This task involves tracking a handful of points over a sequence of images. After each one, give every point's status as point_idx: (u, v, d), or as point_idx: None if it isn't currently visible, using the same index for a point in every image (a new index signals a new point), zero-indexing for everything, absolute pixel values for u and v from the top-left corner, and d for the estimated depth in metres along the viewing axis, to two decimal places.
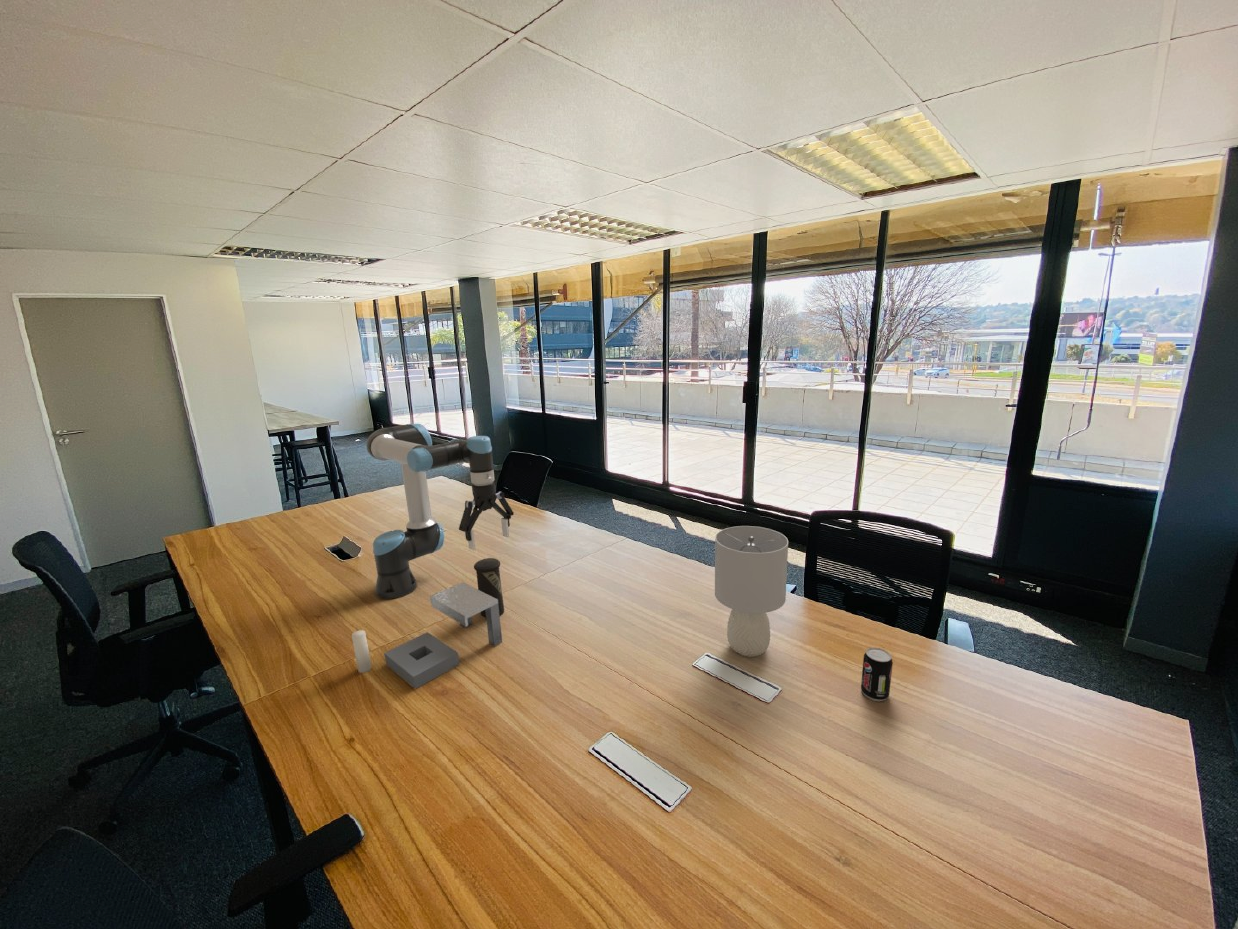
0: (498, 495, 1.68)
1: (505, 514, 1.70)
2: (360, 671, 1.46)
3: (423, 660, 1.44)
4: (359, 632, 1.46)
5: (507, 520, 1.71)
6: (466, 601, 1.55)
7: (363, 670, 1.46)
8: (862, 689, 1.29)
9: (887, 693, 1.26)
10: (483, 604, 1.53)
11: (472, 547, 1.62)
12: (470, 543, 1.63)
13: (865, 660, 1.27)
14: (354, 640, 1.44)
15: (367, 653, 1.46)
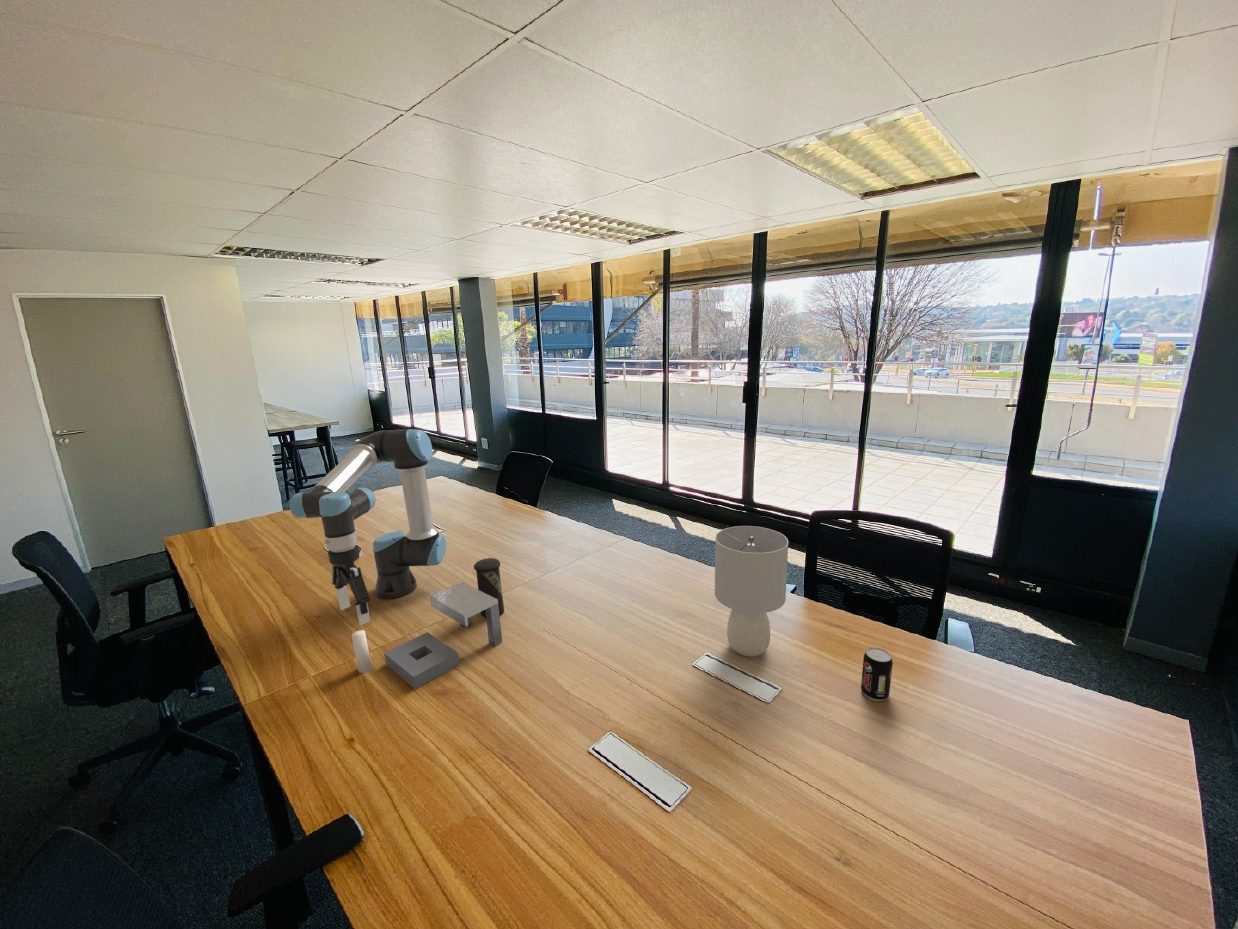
0: None
1: (355, 597, 1.36)
2: (360, 671, 1.46)
3: (423, 660, 1.44)
4: (359, 632, 1.46)
5: (356, 605, 1.37)
6: (466, 601, 1.55)
7: (363, 670, 1.46)
8: (862, 689, 1.29)
9: (887, 693, 1.26)
10: (483, 604, 1.53)
11: None
12: None
13: (865, 660, 1.27)
14: (354, 640, 1.44)
15: (367, 653, 1.46)
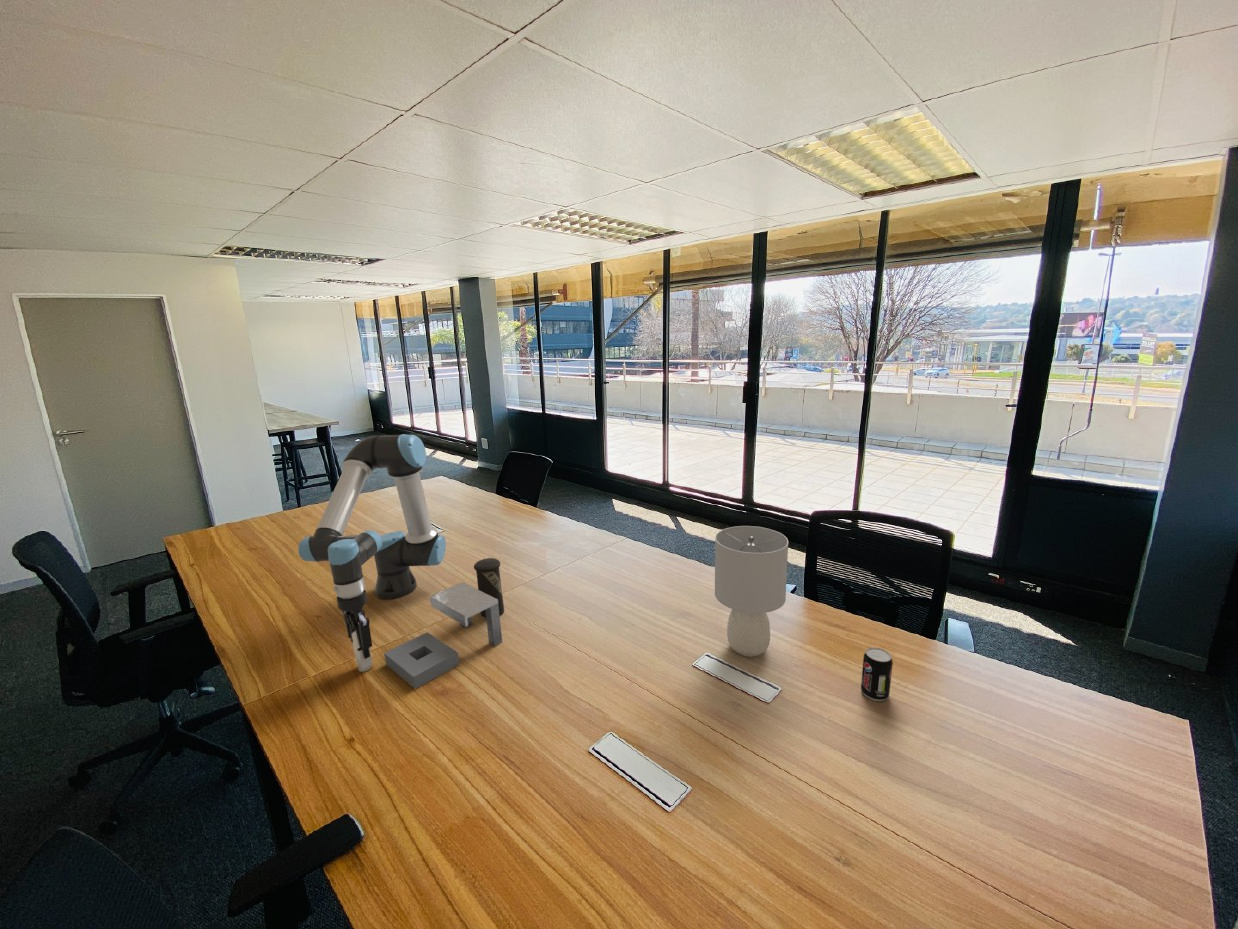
0: (360, 619, 1.40)
1: (359, 642, 1.43)
2: (360, 670, 1.46)
3: (423, 660, 1.44)
4: None
5: (359, 650, 1.44)
6: (466, 601, 1.55)
7: (363, 669, 1.46)
8: (862, 689, 1.29)
9: (887, 693, 1.26)
10: (483, 604, 1.53)
11: None
12: None
13: (865, 660, 1.27)
14: (354, 639, 1.44)
15: None
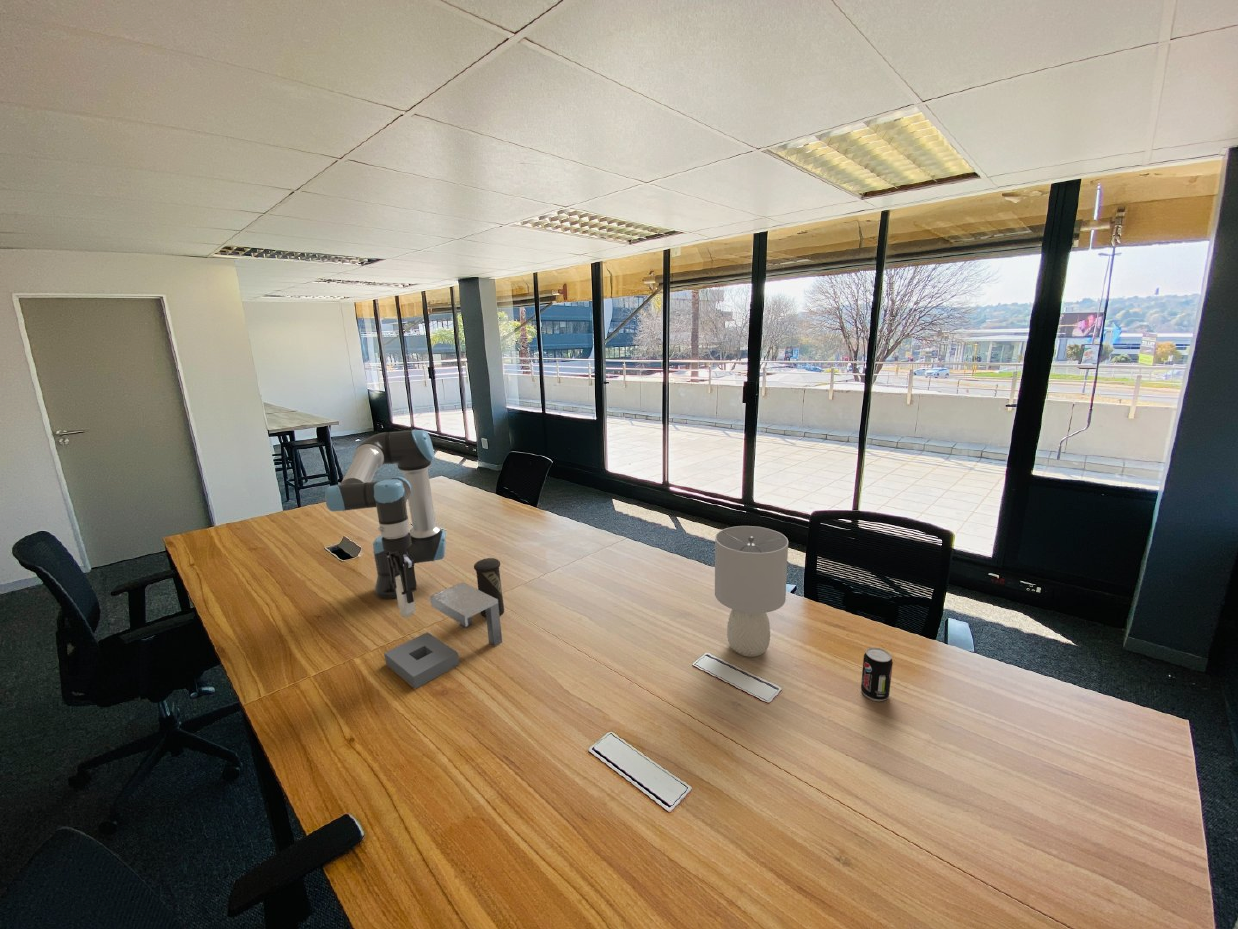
0: (405, 561, 1.37)
1: (403, 586, 1.40)
2: (403, 615, 1.43)
3: (423, 660, 1.44)
4: None
5: (403, 594, 1.40)
6: (466, 601, 1.55)
7: (406, 614, 1.43)
8: (862, 689, 1.29)
9: (887, 693, 1.26)
10: (483, 604, 1.53)
11: None
12: None
13: (865, 660, 1.27)
14: (398, 583, 1.40)
15: None
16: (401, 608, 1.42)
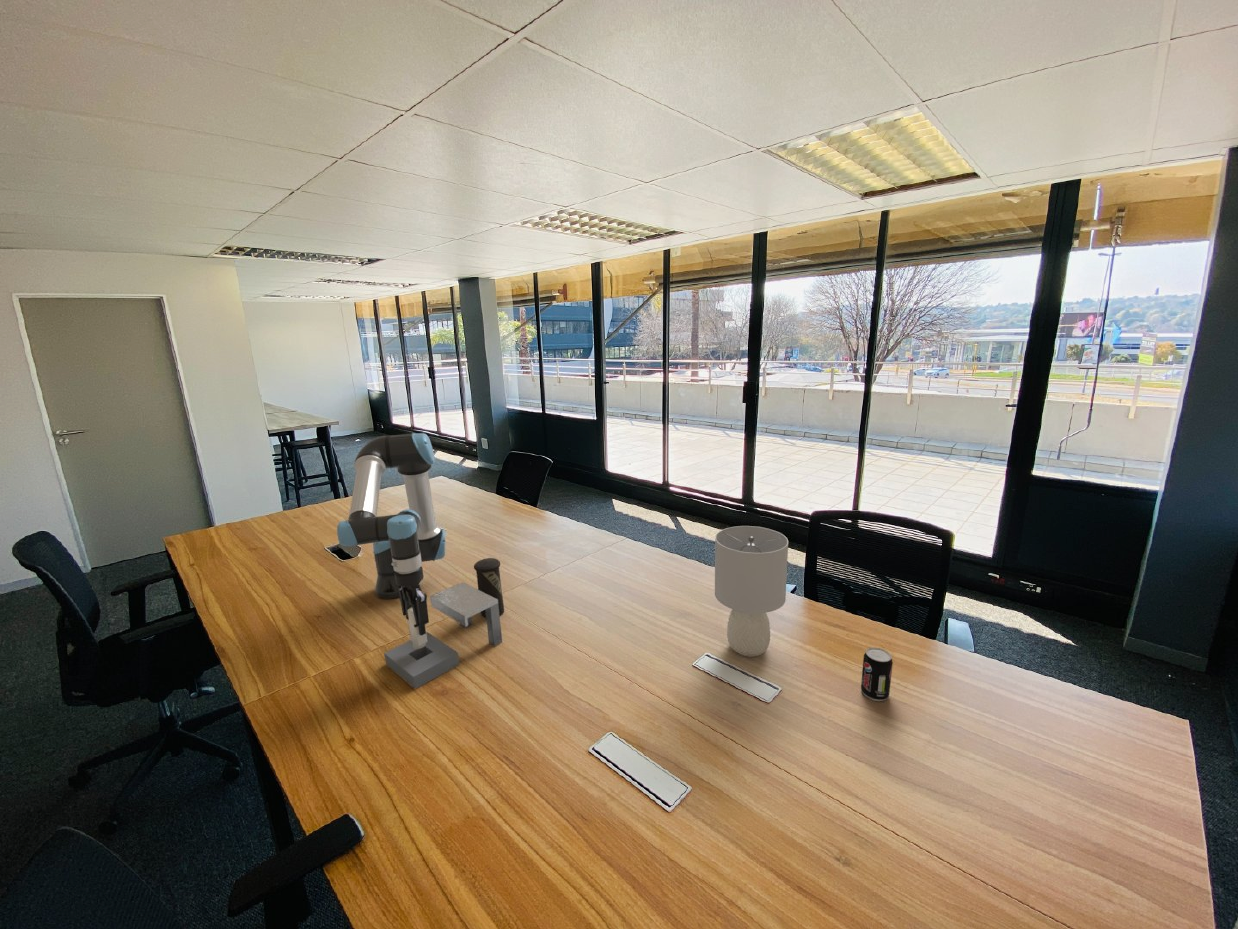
0: (418, 595, 1.40)
1: (415, 619, 1.42)
2: (415, 647, 1.46)
3: (423, 660, 1.44)
4: None
5: (415, 627, 1.43)
6: (466, 601, 1.55)
7: (418, 646, 1.46)
8: (862, 689, 1.29)
9: (887, 693, 1.26)
10: (483, 604, 1.53)
11: None
12: None
13: (865, 660, 1.27)
14: (410, 615, 1.43)
15: None
16: (413, 640, 1.45)
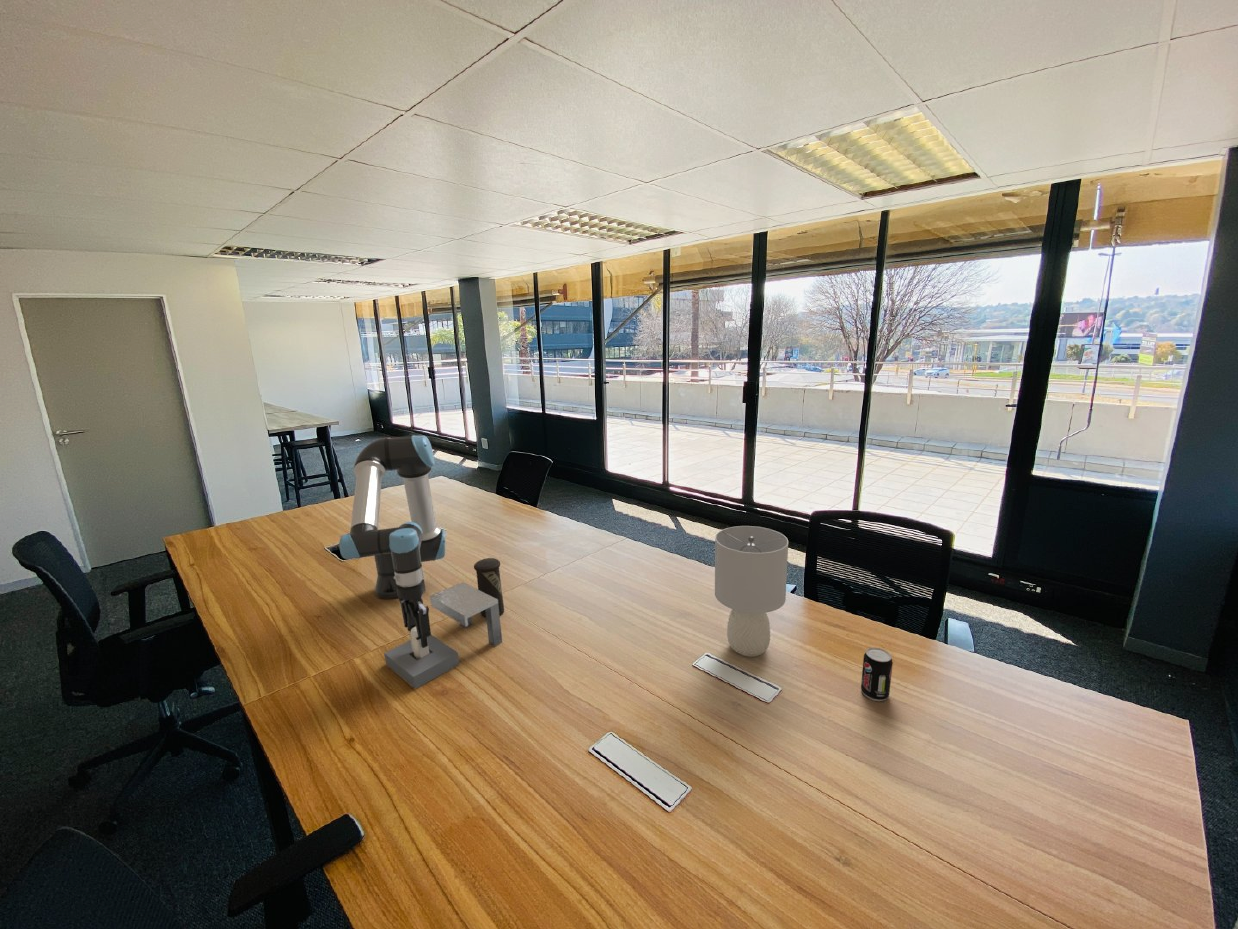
0: (420, 608, 1.41)
1: (417, 631, 1.43)
2: None
3: (423, 660, 1.44)
4: None
5: (418, 639, 1.44)
6: (466, 601, 1.55)
7: None
8: (862, 689, 1.29)
9: (887, 693, 1.26)
10: (483, 604, 1.53)
11: None
12: None
13: (865, 660, 1.27)
14: (413, 635, 1.45)
15: None
16: (416, 659, 1.47)
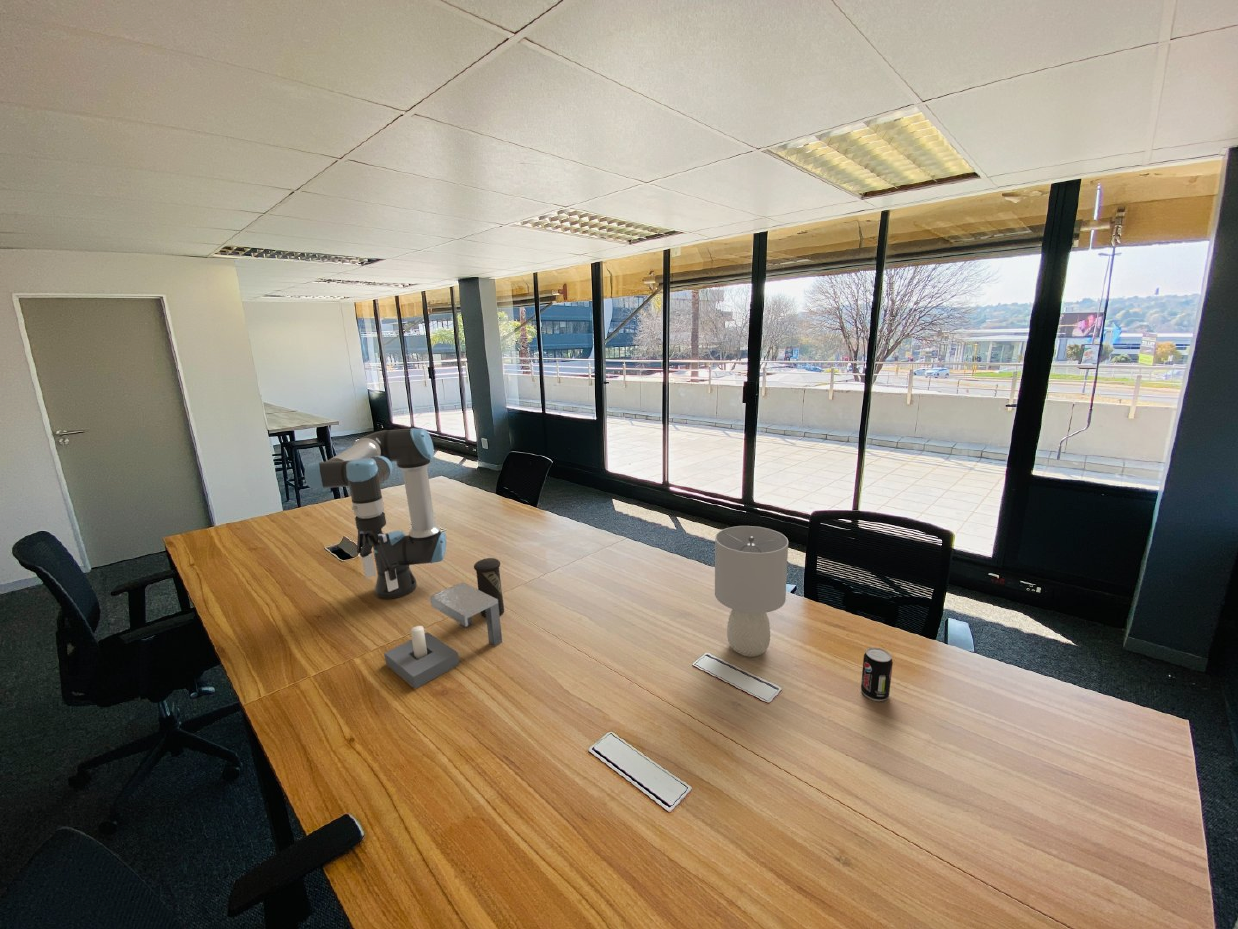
0: None
1: (384, 563, 1.36)
2: None
3: (423, 660, 1.44)
4: (417, 627, 1.47)
5: (385, 571, 1.36)
6: (466, 601, 1.55)
7: None
8: (862, 689, 1.29)
9: (887, 693, 1.26)
10: (483, 604, 1.53)
11: None
12: None
13: (865, 660, 1.27)
14: (413, 635, 1.45)
15: (425, 648, 1.48)
16: (416, 659, 1.47)
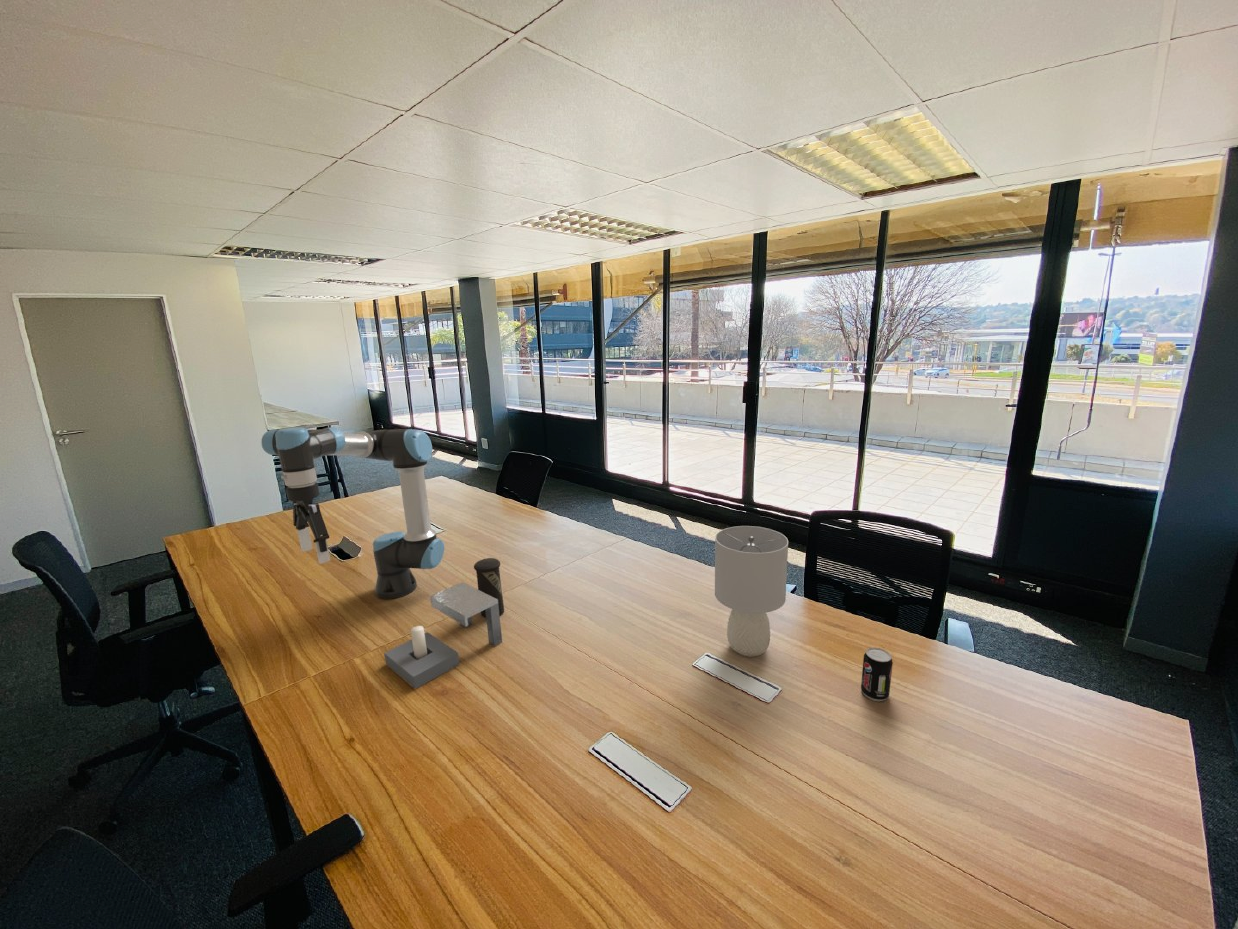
0: None
1: (314, 534, 1.33)
2: None
3: (423, 660, 1.44)
4: (418, 627, 1.47)
5: (315, 543, 1.33)
6: (466, 601, 1.55)
7: None
8: (862, 689, 1.29)
9: (887, 693, 1.26)
10: (483, 604, 1.53)
11: None
12: None
13: (865, 660, 1.27)
14: (413, 635, 1.45)
15: (425, 648, 1.48)
16: (416, 659, 1.47)
